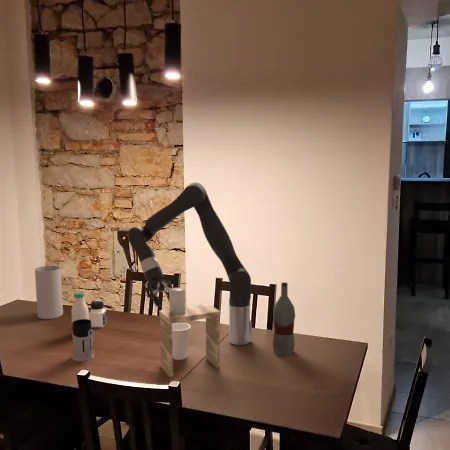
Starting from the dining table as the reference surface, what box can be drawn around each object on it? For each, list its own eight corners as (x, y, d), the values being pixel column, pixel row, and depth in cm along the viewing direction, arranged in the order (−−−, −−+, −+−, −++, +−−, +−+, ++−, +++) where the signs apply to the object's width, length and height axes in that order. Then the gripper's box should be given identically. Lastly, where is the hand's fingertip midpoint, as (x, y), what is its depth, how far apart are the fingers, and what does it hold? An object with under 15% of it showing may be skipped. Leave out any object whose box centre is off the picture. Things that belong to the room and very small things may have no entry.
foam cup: (187, 362, 205) (187, 331, 204) (165, 360, 207) (164, 329, 205) (193, 353, 215) (193, 323, 213) (172, 351, 216) (172, 322, 215)
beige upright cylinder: (181, 309, 199) (181, 287, 198) (187, 313, 194) (187, 290, 193) (167, 311, 197) (166, 289, 195) (172, 316, 191) (172, 292, 190)
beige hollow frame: (208, 357, 210) (208, 303, 207) (220, 367, 200) (219, 311, 197) (160, 366, 201) (159, 310, 198) (170, 377, 191) (169, 319, 188)
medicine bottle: (103, 327, 246) (102, 303, 244) (88, 327, 246) (87, 303, 244) (107, 322, 253) (106, 299, 251) (92, 322, 253) (91, 299, 251)
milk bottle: (93, 333, 237) (91, 292, 234) (80, 339, 231) (78, 296, 228) (81, 330, 241) (79, 289, 239) (68, 335, 235) (66, 293, 232)
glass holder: (87, 351, 217) (85, 317, 215) (105, 360, 207) (103, 325, 205) (68, 356, 211) (66, 322, 209) (85, 367, 201) (84, 330, 199)
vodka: (267, 352, 215) (268, 283, 211) (280, 346, 222) (281, 279, 217) (286, 358, 209) (287, 287, 205) (298, 352, 216) (300, 283, 211)
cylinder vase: (32, 319, 258) (29, 270, 255) (45, 311, 271) (42, 265, 267) (55, 320, 256) (53, 271, 253) (67, 312, 268) (65, 266, 265)
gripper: (145, 267, 212) (160, 303, 208) (168, 264, 224) (182, 298, 219) (134, 274, 216) (148, 310, 212) (157, 271, 227) (170, 305, 223)
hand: (165, 304), depth 215 cm, fingers open, 8 cm apart
